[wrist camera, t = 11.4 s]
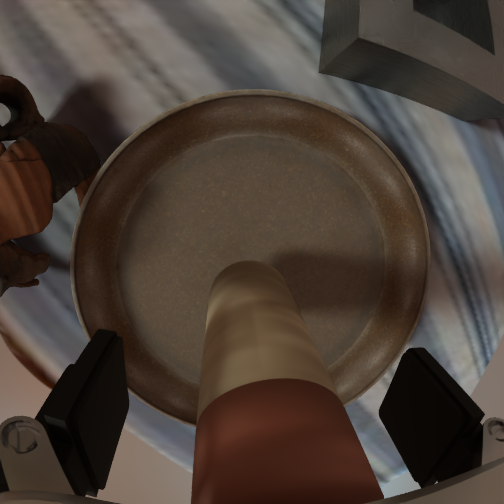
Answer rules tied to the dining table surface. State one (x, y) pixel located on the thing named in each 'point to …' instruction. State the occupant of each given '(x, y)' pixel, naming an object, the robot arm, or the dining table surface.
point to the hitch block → (421, 51)
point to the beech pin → (270, 404)
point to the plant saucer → (250, 238)
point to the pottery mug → (35, 179)
